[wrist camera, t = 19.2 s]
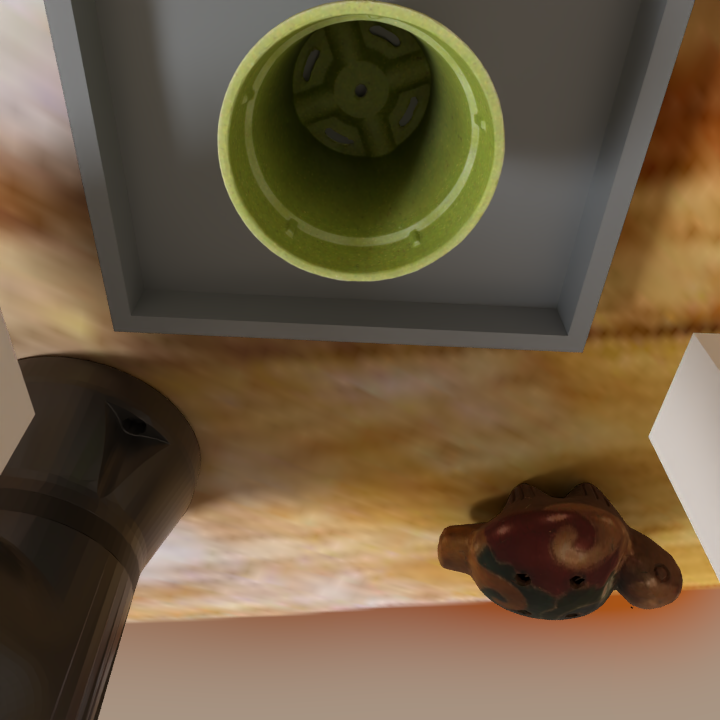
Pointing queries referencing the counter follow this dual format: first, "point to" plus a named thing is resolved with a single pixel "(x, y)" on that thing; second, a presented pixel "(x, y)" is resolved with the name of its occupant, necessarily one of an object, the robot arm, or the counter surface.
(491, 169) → the plant pot
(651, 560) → the decorative turtle
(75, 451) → the robot arm
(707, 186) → the counter surface
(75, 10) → the walled tray
